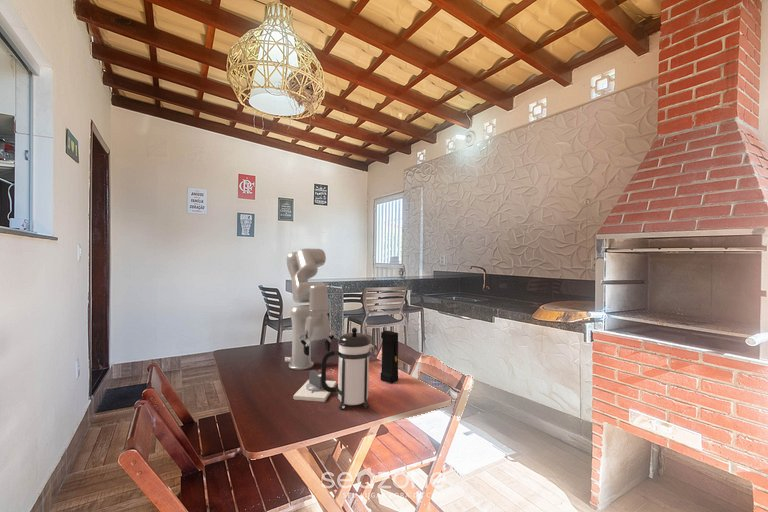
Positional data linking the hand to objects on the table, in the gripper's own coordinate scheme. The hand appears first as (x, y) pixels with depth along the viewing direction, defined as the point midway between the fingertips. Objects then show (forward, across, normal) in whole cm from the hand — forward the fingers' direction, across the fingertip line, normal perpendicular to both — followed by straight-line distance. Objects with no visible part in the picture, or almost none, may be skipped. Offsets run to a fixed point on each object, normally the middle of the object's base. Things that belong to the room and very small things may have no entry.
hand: (317, 352), depth 147 cm
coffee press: (+16, -5, +20) cm, 26 cm away
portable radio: (+16, -33, +10) cm, 38 cm away
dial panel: (+16, 0, +1) cm, 16 cm away
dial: (+14, 0, +1) cm, 15 cm away
